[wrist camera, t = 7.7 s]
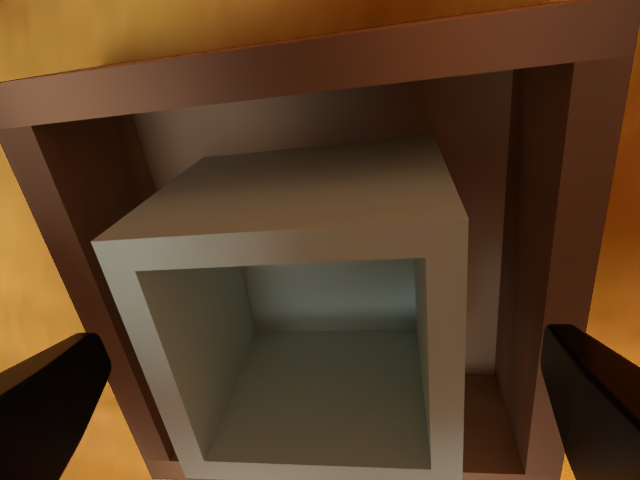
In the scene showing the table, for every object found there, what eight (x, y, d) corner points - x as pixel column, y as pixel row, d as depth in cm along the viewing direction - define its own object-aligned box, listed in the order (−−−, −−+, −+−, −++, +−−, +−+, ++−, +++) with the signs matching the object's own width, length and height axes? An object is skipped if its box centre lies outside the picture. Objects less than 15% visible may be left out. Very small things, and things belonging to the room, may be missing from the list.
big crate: (202, 378, 16) (152, 478, 13) (101, 65, 11) (-27, 86, 8) (514, 379, 14) (556, 497, 11) (548, 2, 10) (644, -7, 6)
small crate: (248, 335, 14) (185, 477, 10) (203, 157, 12) (90, 241, 7) (436, 332, 13) (462, 490, 9) (433, 135, 11) (468, 218, 6)
